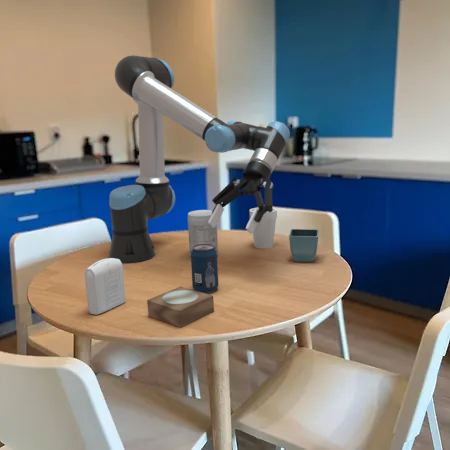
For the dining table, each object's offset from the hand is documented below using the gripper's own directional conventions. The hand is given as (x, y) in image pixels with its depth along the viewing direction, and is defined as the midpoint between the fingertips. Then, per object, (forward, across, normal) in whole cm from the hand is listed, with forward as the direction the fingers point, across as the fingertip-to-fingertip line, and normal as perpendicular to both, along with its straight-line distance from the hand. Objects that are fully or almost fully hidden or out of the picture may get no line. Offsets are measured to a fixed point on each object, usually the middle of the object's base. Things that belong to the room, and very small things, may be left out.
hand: (229, 228), depth 134 cm
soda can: (+18, 0, -3) cm, 18 cm away
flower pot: (-8, -8, -29) cm, 31 cm away
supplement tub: (+2, +22, -19) cm, 29 cm away
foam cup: (-12, +12, -34) cm, 38 cm away
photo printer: (+34, +12, +13) cm, 39 cm away
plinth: (+29, -6, +8) cm, 30 cm away
